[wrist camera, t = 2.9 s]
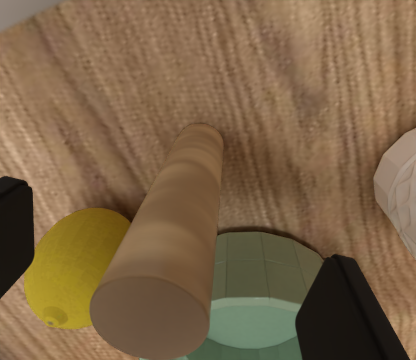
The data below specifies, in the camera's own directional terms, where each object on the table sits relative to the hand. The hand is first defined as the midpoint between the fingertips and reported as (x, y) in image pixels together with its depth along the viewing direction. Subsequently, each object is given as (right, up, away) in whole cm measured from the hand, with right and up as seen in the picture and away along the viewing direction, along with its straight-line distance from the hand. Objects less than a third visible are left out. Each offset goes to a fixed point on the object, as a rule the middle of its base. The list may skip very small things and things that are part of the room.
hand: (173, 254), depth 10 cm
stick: (+1, +4, +8) cm, 9 cm away
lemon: (-5, 0, +11) cm, 12 cm away
